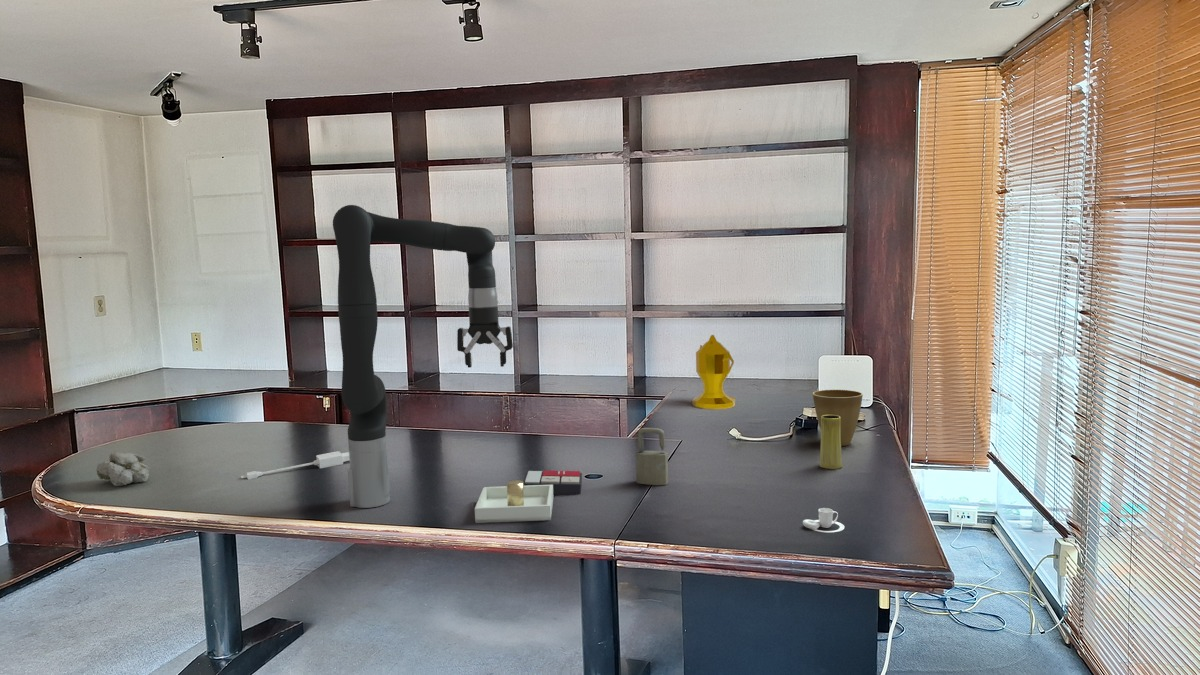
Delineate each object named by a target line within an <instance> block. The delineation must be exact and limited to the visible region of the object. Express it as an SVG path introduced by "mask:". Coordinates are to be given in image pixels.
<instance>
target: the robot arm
mask: <svg viewBox="0 0 1200 675" xmlns="http://www.w3.org/2000/svg"><path fill="white" fill-rule="evenodd" d="M332 228H333V232H334V237H335V243H336V250H337V256H338V278H337V279H338V280H337V281H338V282H337V309H338V310H337V311H338V313H337V314H338V321H339V333H340V335H339V336H340V344H341V353H342V375H341V376H342V377H341V399H342V403H343V404H344V406H345V407H346V409H347V410H348V411H349V412H350V419H349V423H348V427H347V441H348V452H349V457H350V461H349V468H348V469H347V477H348V478H347V479H348V493H349V494H348V495H349V505H350V506H349V507H354V508H355V507H356V508H359V509H367V508H368V509H369V508H376V507H377V508H378V507H381V506H383V505H386V504H388V503H389V502H390V501H391V495H390V492H391V491H390V480H389V478H390V477H389V465H388V464H389V462H388V449H387V435H386V433H387V432H386V428H387V420H388V416H387V412H388V411H387V392H386V387H385V383H384V382H383V380H382V379H381V378H380V377H379V376H378V375H376V374H375V370H374V348H375V343H376V337H377V331H378V321H379V319H378V304H377V302H378V300H377V293H376V286H375V281H374V280H375V279H374V275H373V271H372V266H371V243H373V242H376V243H377V242H379V243H380V242H381V243H382V242H383V243H392V244H394V243H395V244H399V245H406V246H411V247H417V248H422V249H428V250H437V251H445V252H452V251H453V252H460V253H465V255H466V262H467V268H468V269H467V270H468V271H467V272H468V273H467V279H468V280H467V281H468V297H467V300H468V317H469V318H468V319H469V326H468V328H463V327H458V329H457V331H456V332H457V335H456V336H457V339H456V340H457V341H456V344H457V345H456V346H457V347H456V348H457V349H456V350H457V351H458V352H461V353H463V354H464V363H465V366H467V368H470V369H471V368H472V364H473V361H472V352H471V350H472V349H473V348H474V346H475V344H476V345H477V344H478V345H483V344H487V345H491V344H494V345H495V346H496V347H497V348H498V350H499V351H500V353H499V362H500V363H499V364H500V367H502V368H503V367H504V366H505V365H506V364H507V351H510V350H512V349H513V347H514V345H513V344H514V343H513V335H512V327H511V326H505V327H500V324H499V301H498V293H497V287H496V286H497V282H496V271H495V267H494V266H493V250H494V248H495V247H496V237H495V235H494V234H493V232H492V231H491V230H489V229H488V228H485V227H480V226H479V227H478V226H470V225H455V224H451V223H447V222H439V221H432V220H424V219H406V218H405V219H403V218H394V217H389V216H383V215H380V214H376V213H373V212H369V211H367V210H365V209H364V208H363V207H361V206H359V205H356V204H347V205H344V206H342V207H341V208H339V209H338V210H337V211H336V212H335V213H334V216H333V220H332ZM501 332H502V334H503V335H504V336H506V345H504V344H503V342H502V341H501V339H500V338H499V337H498V336H499V335H500V333H501ZM467 334H468V335H469V336H470V337H471V338H472V339H471V340H470V341H469V343H468V345H467V346H464V337H466V335H467Z"/></svg>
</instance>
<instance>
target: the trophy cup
mask: <svg viewBox="0 0 1200 675" xmlns="http://www.w3.org/2000/svg"><path fill="white" fill-rule="evenodd" d="M734 363H735V360H734V359H733V357H732V356H731V353H730V351H729V350H728V349H727V348H726V347H725V346H724V345H723V344H722V343H721V342H719V341H717V338H716V337H715V335H714V334H710V336H709V338H708V340H707V341H706V342H705V343H704V344H702V345H699V349H697V351H696V352H695V370H696V373H697V375H698V377H699V379H700V380H701V382H702V384H703V386H702V387H703V391H702V392H701V394H700V395H698V396H696V397H694V398H693V399H692V401H691V402H692V406H694V407H695V408H700V409H703V410H726V409H730V408H733V407H735V405H736V397H735V396H734V397H733V396H729V395H727V393H726V392H725V391H724V383H725V381H726V379H727V377H728V375H729V374H730V373H731V370H732V367H733V366H734Z"/></svg>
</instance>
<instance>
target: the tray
mask: <svg viewBox="0 0 1200 675" xmlns="http://www.w3.org/2000/svg"><path fill="white" fill-rule="evenodd" d="M553 504H554V495H553V485H528V486H524V506H508V504H507V485H506V486H505V485H504V486H503V485H500V486H484V487H483V488H482V490H481V493H480V495H479V498H478V501H477V502H476V504H475V507H474V520H475V524H481V523H482V524H485V523H487V524H488V523H490V524H491V523H510V522H511V523H512V522H515V523H516V522H517V523H518V522H534V521H535V522H538V521H552V515H553V514H552V513H553V507H554V506H553Z"/></svg>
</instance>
